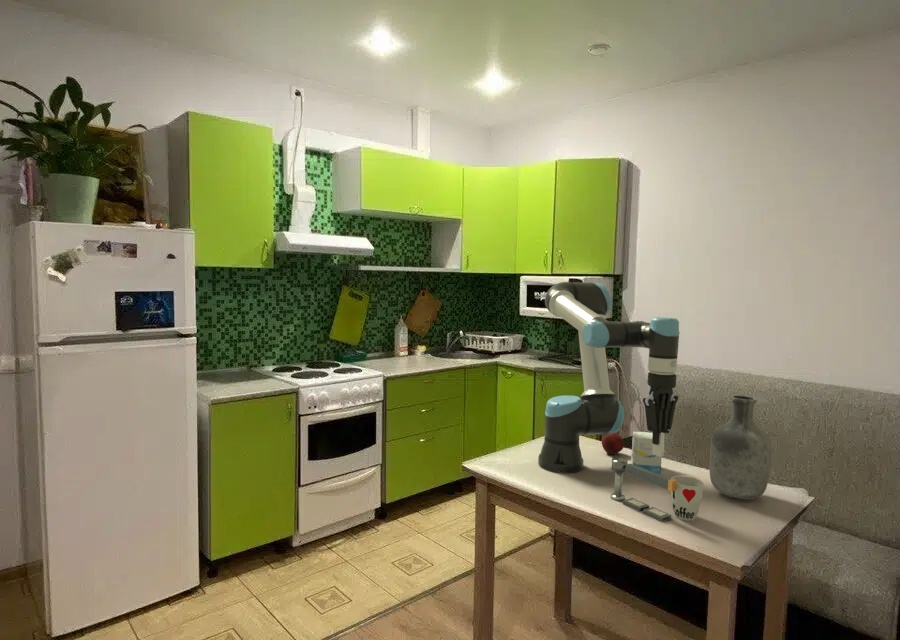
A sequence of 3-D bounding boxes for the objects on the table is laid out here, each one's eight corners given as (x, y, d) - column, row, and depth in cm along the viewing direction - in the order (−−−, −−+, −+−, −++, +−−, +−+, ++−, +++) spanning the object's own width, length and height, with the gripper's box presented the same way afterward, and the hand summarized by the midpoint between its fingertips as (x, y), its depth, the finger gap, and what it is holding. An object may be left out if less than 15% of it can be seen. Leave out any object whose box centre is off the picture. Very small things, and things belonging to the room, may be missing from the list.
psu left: (622, 503, 156) (622, 500, 156) (632, 501, 158) (632, 497, 158) (640, 511, 151) (640, 508, 151) (649, 509, 153) (649, 505, 153)
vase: (769, 494, 167) (777, 397, 165) (764, 511, 154) (773, 406, 151) (712, 481, 176) (718, 389, 174) (703, 497, 163) (709, 397, 160)
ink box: (661, 474, 182) (663, 439, 181) (634, 471, 183) (636, 437, 182) (656, 465, 190) (658, 432, 189) (630, 463, 192) (632, 430, 191)
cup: (663, 516, 149) (666, 480, 148) (676, 507, 155) (678, 473, 154) (694, 526, 143) (696, 489, 142) (706, 517, 149) (708, 481, 148)
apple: (609, 449, 206) (610, 428, 206) (627, 455, 200) (629, 433, 200) (597, 453, 202) (598, 431, 201) (616, 459, 196) (617, 437, 195)
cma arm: (608, 468, 160) (608, 459, 160) (618, 466, 162) (618, 456, 162) (668, 492, 143) (669, 482, 143) (679, 489, 145) (680, 479, 145)
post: (607, 497, 161) (609, 469, 160) (616, 494, 163) (618, 467, 162) (618, 502, 157) (620, 473, 157) (627, 499, 160) (629, 471, 159)
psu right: (643, 513, 150) (643, 509, 150) (652, 510, 152) (652, 506, 152) (661, 521, 145) (662, 517, 145) (671, 518, 147) (671, 514, 147)
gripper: (658, 376, 147) (654, 462, 148) (688, 373, 154) (683, 455, 155) (635, 371, 153) (631, 454, 155) (665, 369, 160) (661, 448, 162)
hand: (657, 454), depth 155 cm, fingers closed
